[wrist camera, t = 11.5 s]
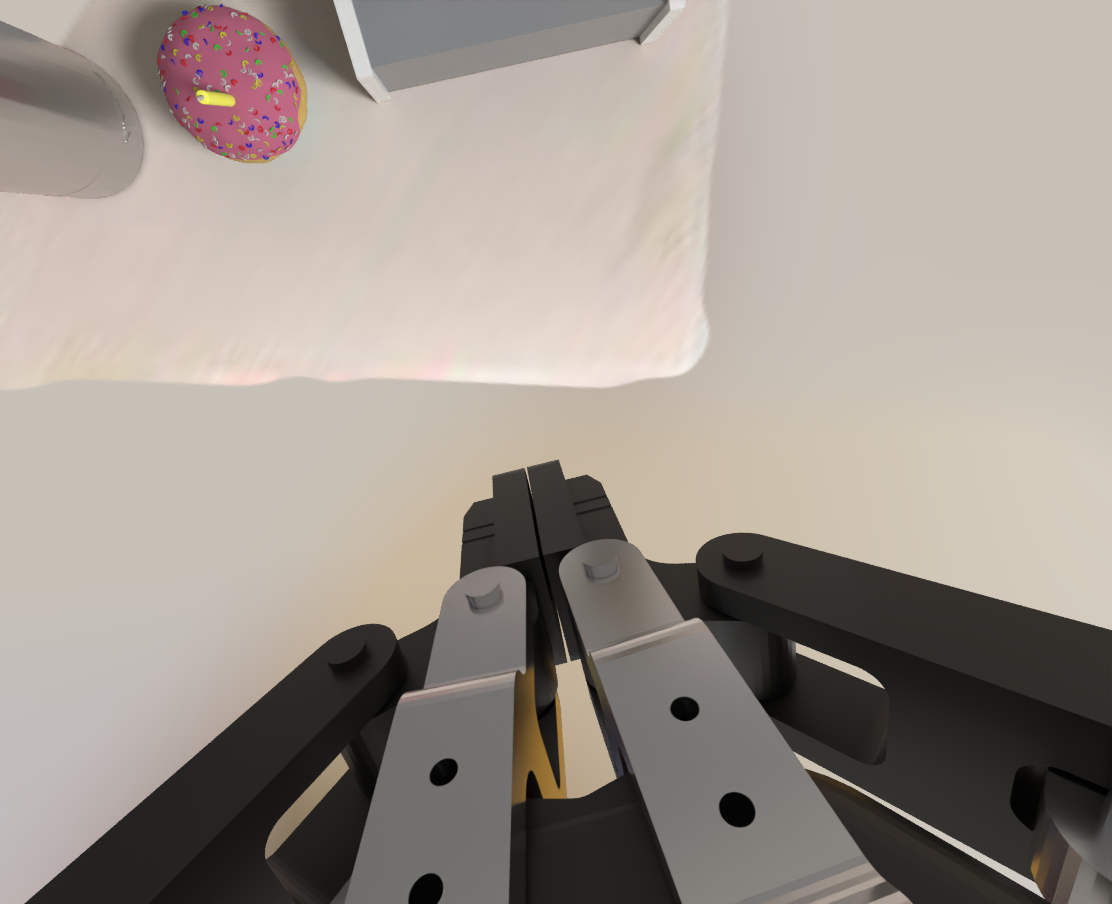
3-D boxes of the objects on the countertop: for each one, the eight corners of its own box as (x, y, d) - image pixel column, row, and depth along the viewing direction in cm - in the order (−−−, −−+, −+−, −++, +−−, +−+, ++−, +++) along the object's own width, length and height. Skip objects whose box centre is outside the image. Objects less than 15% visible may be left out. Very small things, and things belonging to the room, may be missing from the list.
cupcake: (345, 143, 40) (294, 112, 29) (242, 188, 41) (153, 174, 30) (281, 9, 37) (195, -84, 26) (169, 59, 37) (37, -12, 26)
